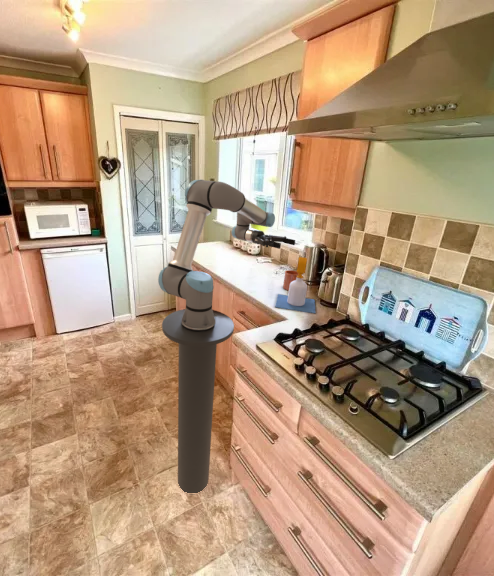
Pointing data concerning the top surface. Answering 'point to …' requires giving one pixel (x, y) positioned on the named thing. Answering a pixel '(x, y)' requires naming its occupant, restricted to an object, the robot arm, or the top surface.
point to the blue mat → (307, 307)
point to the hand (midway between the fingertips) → (287, 244)
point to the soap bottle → (298, 285)
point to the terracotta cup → (289, 278)
